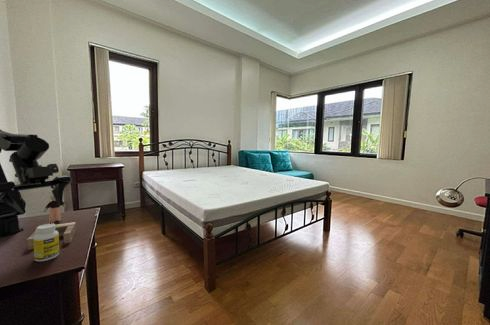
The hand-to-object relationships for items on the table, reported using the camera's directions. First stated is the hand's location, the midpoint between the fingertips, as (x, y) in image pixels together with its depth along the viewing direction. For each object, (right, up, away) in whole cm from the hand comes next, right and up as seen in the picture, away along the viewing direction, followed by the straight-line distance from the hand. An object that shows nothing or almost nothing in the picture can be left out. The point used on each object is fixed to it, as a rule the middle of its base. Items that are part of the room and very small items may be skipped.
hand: (43, 209), depth 65 cm
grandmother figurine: (-17, -11, +23) cm, 30 cm away
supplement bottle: (+6, -14, -4) cm, 16 cm away
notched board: (-2, -12, +6) cm, 14 cm away
